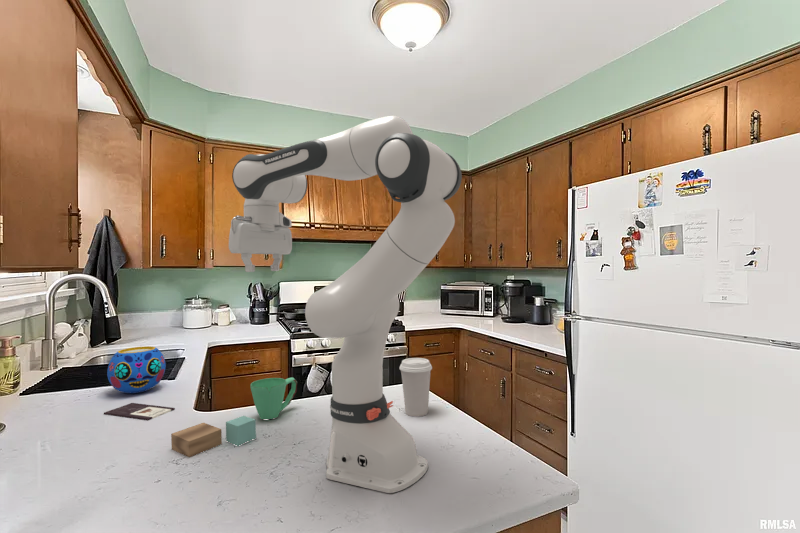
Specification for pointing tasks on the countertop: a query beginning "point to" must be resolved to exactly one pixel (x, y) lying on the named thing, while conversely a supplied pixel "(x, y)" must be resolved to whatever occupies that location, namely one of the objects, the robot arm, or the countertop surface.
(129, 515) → the countertop surface
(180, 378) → the countertop surface
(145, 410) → the chocolate bar
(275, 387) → the mug
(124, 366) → the ceramic pot
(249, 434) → the teal cube
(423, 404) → the coffee cup
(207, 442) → the walnut slab
